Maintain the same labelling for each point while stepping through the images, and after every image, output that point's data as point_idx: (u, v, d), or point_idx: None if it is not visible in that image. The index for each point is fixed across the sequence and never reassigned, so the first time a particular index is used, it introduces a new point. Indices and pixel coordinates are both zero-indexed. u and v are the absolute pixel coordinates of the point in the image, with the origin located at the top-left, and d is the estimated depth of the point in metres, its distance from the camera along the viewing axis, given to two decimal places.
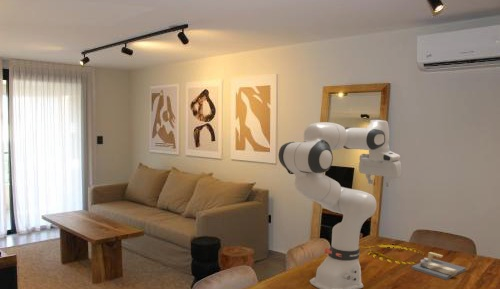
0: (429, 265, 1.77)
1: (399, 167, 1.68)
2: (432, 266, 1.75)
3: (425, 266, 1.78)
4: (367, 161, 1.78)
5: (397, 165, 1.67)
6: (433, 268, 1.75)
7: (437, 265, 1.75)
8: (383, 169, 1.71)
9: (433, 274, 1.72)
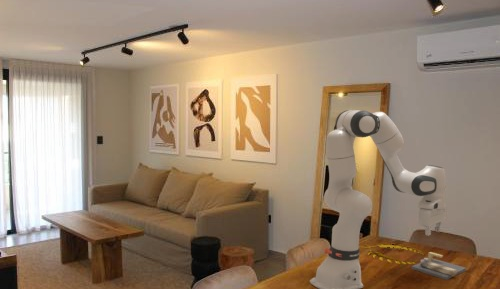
0: (429, 265, 1.77)
1: (425, 216, 1.63)
2: (432, 266, 1.75)
3: (425, 266, 1.78)
4: None
5: (422, 213, 1.64)
6: (433, 268, 1.75)
7: (437, 265, 1.75)
8: None
9: (433, 274, 1.72)
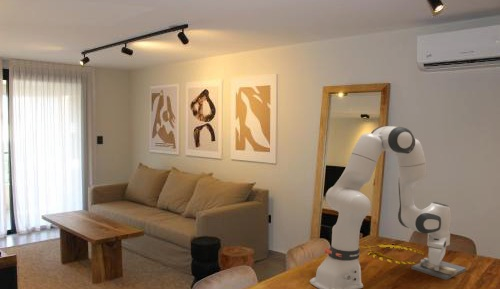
0: (429, 265, 1.77)
1: (435, 255, 1.64)
2: (432, 266, 1.75)
3: (425, 266, 1.78)
4: None
5: (432, 252, 1.65)
6: (433, 268, 1.75)
7: None
8: None
9: (433, 274, 1.72)
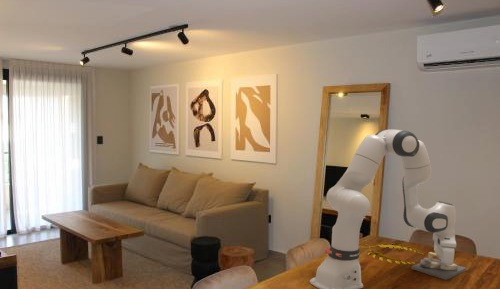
0: (432, 265, 1.77)
1: (450, 254, 1.65)
2: (435, 265, 1.77)
3: (428, 266, 1.77)
4: None
5: (447, 252, 1.66)
6: (437, 267, 1.77)
7: (438, 263, 1.78)
8: (440, 253, 1.72)
9: (433, 274, 1.72)
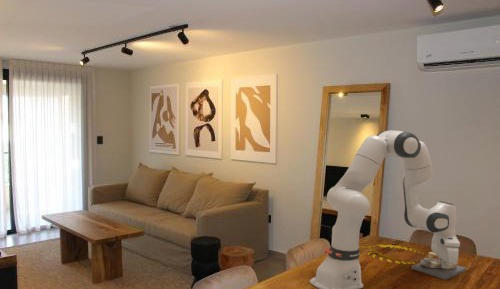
0: (433, 264, 1.78)
1: (455, 254, 1.66)
2: (436, 265, 1.78)
3: (429, 266, 1.77)
4: (435, 240, 1.81)
5: (451, 252, 1.66)
6: (437, 266, 1.78)
7: (438, 262, 1.79)
8: (442, 253, 1.72)
9: (433, 274, 1.72)
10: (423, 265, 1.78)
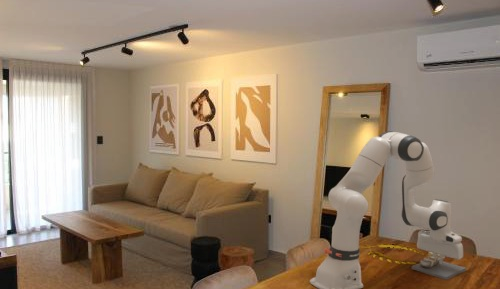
0: (431, 263, 1.80)
1: (461, 249, 1.74)
2: (433, 262, 1.81)
3: (431, 265, 1.79)
4: (427, 238, 1.84)
5: (460, 247, 1.73)
6: (433, 263, 1.81)
7: (431, 259, 1.83)
8: (445, 249, 1.77)
9: (433, 274, 1.72)
10: (427, 266, 1.77)
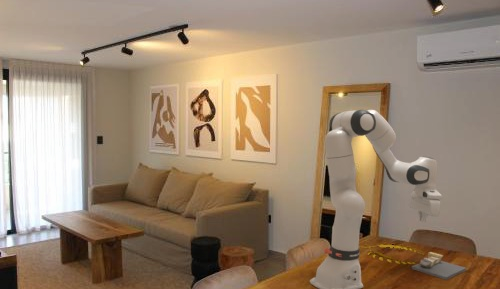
0: (431, 263, 1.80)
1: (437, 206, 1.69)
2: (433, 262, 1.81)
3: (431, 265, 1.79)
4: (415, 196, 1.84)
5: (434, 203, 1.70)
6: (433, 263, 1.81)
7: (431, 259, 1.83)
8: (424, 206, 1.75)
9: (433, 274, 1.72)
10: (427, 266, 1.77)
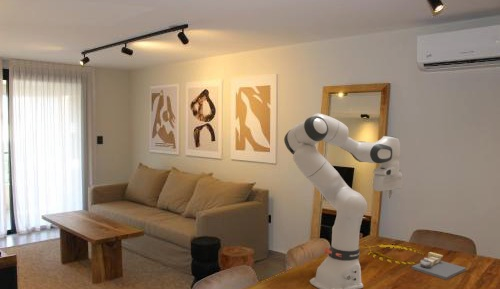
0: (431, 263, 1.80)
1: (378, 181, 1.78)
2: (433, 262, 1.81)
3: (431, 265, 1.79)
4: None
5: (376, 178, 1.79)
6: (433, 263, 1.81)
7: (431, 259, 1.83)
8: None
9: (433, 274, 1.72)
10: (427, 266, 1.77)
